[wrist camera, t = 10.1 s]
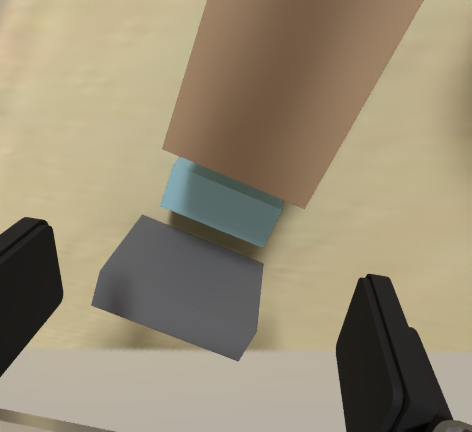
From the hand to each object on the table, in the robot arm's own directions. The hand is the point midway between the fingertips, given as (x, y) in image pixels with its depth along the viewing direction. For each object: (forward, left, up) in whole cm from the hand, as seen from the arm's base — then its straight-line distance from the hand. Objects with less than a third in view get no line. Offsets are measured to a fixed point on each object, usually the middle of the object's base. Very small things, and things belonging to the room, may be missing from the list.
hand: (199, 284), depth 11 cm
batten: (0, +3, -15) cm, 15 cm away
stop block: (0, +10, -14) cm, 17 cm away
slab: (0, -8, -10) cm, 13 cm away
